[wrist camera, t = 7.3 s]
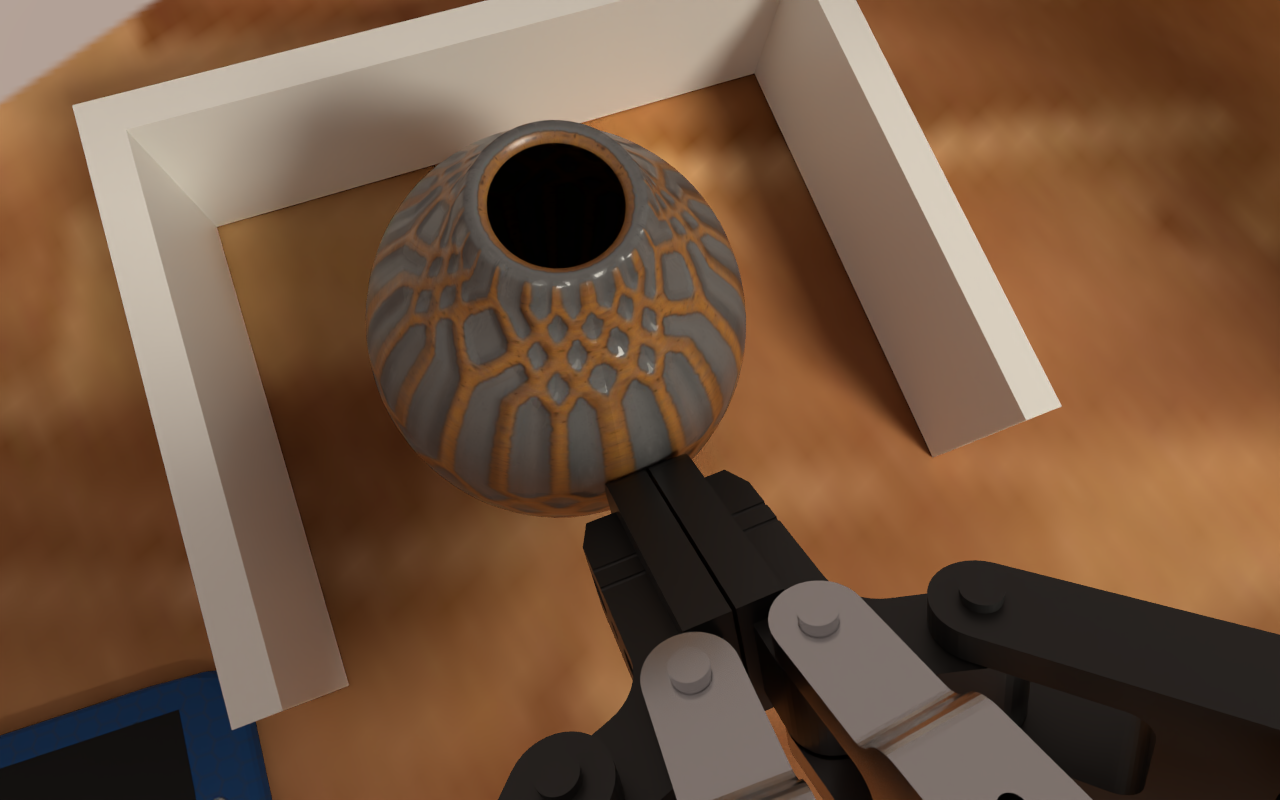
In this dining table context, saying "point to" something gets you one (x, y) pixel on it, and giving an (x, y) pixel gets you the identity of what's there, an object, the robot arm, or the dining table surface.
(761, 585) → the robot arm
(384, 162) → the frame
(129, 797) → the cell phone
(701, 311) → the vase
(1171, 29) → the dining table surface
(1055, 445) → the dining table surface
